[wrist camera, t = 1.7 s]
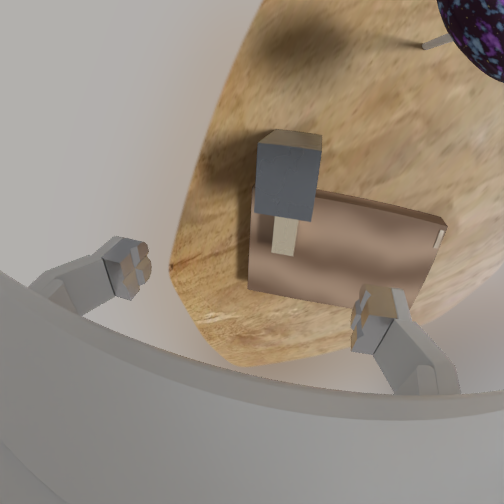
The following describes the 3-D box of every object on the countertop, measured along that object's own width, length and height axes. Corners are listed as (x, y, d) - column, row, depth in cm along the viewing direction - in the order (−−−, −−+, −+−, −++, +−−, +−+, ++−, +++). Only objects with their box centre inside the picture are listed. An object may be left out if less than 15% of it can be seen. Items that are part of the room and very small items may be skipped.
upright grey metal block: (276, 129, 22) (257, 142, 16) (322, 135, 21) (321, 150, 15) (267, 232, 28) (250, 274, 22) (306, 239, 27) (299, 283, 21)
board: (257, 180, 25) (252, 188, 24) (440, 217, 22) (448, 227, 20) (251, 278, 32) (247, 289, 30) (403, 304, 29) (406, 317, 27)
